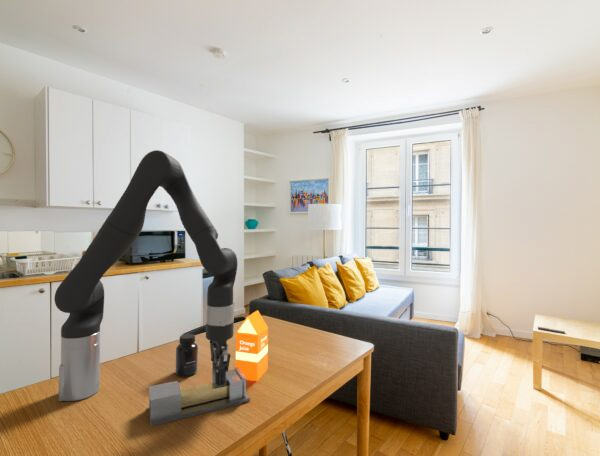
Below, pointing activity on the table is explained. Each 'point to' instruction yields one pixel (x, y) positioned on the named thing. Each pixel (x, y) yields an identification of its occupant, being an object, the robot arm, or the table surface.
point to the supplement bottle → (186, 356)
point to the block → (204, 392)
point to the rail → (169, 404)
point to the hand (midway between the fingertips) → (219, 381)
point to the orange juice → (252, 347)
